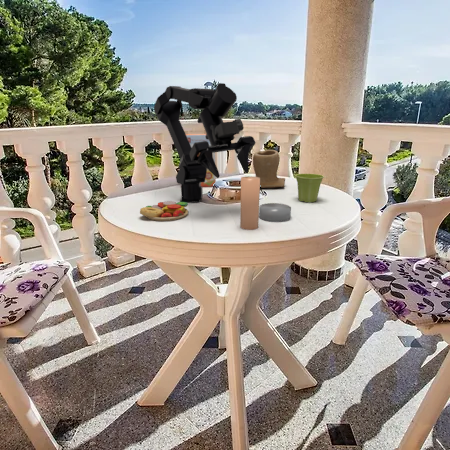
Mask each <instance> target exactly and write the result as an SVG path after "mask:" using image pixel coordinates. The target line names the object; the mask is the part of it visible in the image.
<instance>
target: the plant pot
mask: <svg viewBox="0 0 450 450" xmlns="http://www.w3.org/2000/svg"><path fill="white" fill-rule="evenodd" d="M294 176H295V178H296V182H297V194H298V195H297V196H298V197H297V198H298V201H300V202H305V203H315V202H317V201H318V196H319V192H320V188H321V184H322V182H323V178H324V177H325V176H324V175H323V174H319V173H318V174H317V173H297V174H295V175H294Z"/></svg>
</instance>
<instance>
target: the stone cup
mask: <svg viewBox="0 0 450 450" xmlns="http://www.w3.org/2000/svg"><path fill="white" fill-rule="evenodd" d="M279 165H280V155H279V152H278V151H277V150H275V149H265V150H262V151H261V150H258V151H256V152H255V153H253V156H252V166H253V170H254V174H255V177H259V178H260V185H261V188H260V189H264V188H266V189H267V188H268V189H270V188H271V189H273V188H284V187H285V184H286V178H285V177H278V171H279Z"/></svg>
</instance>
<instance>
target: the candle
mask: <svg viewBox="0 0 450 450" xmlns="http://www.w3.org/2000/svg"><path fill="white" fill-rule="evenodd" d="M260 190H261V188H260V178H259V177H256V176H252V175H251V176H241V177H240V209H239V210H240V212H239V215H240V218H239V219H240V221H239V223H240V224H239V228H241V229H242V230H247V231H253V230H258V228H259V222H260V221H259V220H260V218H259V206H260Z"/></svg>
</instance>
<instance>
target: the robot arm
mask: <svg viewBox="0 0 450 450" xmlns="http://www.w3.org/2000/svg"><path fill="white" fill-rule="evenodd" d="M237 97H238V96H237V93H236V92H234V90H233V89H231V88H230V87H228V86H227V84H226V83H222V82H218V83H217V85H216V88H215V89H213V88H199V87H198V88H196V87H195V88H194V87H193V88H187V87H181V86H178V85H177V86H176V85H175V86H174V85H169V86H167V87H166V88H165V91H164V92H163V93H161V94H160V95H159V96H158V97H157V98H156V101H155V103H154V105H153V111H154V114H155V115H156V117H157V119H158V121H159V122H161V123H162V124H163V125H165V126H166V128H167V130H168V133H169V135H170V137H171V139H172V142H173V144H174V146H175V149H176V152H177V154H178V156H179V165H178V169H179V170H178V171H177V173H176V175H175V179H176V183H177V184H180V189H181V190H180V191H181V192H180V193H181V199H180V201H179V202H187V203H200V201H201V200H202V199H203V195H204V194H203V192H204V191H203V187H202V186H201V182H205V178H206V173H207V169H208V170H209V171H210V172H211V173H212V174H213V175H214V176H216V179H219V178H220V172H219V170H218V166H217V165H216V161H215V162H214V160H213V156H212V153H214V152H215V153H221V152H226V151H227V152H228V151H235V153H236V154H237V155H236V158H237V160H238V162H239V164H240V165H241V168H242V169H243V171H244V173H246V174H247V173H248V172H249V153H250V152H251V150H252V149H253V147H254V146H255V145H256V141H255V138H254V136H252V135H245V136H240V137H239V138H238V140H237V141H236V142H232V141H234V139H235V135H239V134H240V132H242V131H243V130H244V123H243V122H242V119H241V118H235V119H234V120H232V121H224V120H223V118H222V117H226V115H228V113H229V112H230V110H231V109H232V107H233V106H234V105H235V103H236V102H237ZM183 102H184V103H186V104H187V103H188V106H189V107H190V108H191V109H193V110H201V112H200V113H199V115H198V118H197V123H198V124H202V126H203V128H204V131H205V134H206V136H205V137H206V139H209V142H210V144H211V146H209V143H208V142H207V141H203V142H195V143H194V145H193V147H192V148H191V145H190V143H189V141H188V139H187V136H186V134H187V133H186V132H185V129H184V128H183V125H182V123H181V120H180V116H181V110H182V108H183Z"/></svg>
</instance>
